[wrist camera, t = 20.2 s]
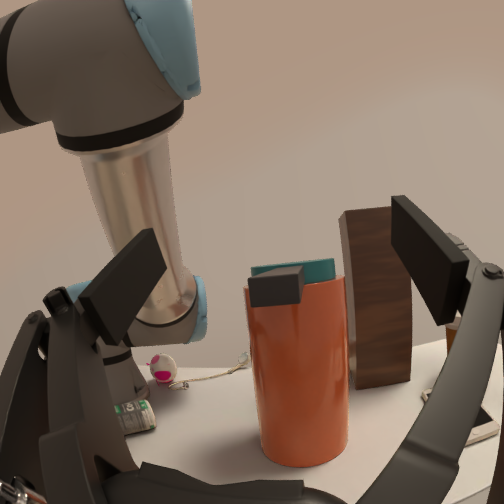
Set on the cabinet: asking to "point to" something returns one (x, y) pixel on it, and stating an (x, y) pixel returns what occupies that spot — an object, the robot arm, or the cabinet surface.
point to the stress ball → (163, 368)
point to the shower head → (242, 360)
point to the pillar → (376, 300)
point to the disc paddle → (286, 281)
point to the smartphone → (476, 423)
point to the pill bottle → (135, 416)
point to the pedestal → (302, 374)
